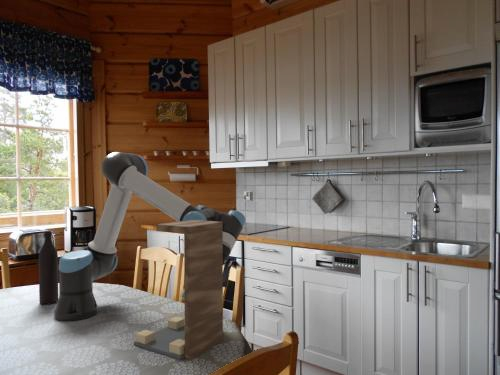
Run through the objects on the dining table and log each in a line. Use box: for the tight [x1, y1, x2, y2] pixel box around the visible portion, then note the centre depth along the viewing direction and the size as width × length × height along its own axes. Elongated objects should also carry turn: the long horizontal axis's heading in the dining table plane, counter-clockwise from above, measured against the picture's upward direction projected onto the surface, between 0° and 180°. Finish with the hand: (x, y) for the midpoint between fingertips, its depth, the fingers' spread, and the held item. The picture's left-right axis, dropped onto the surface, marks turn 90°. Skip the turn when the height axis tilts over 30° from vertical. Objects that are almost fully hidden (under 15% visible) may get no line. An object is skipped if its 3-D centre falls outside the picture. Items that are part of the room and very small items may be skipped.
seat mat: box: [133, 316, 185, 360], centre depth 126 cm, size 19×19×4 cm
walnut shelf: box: [155, 220, 224, 360], centre depth 123 cm, size 13×16×38 cm
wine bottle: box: [38, 230, 59, 305], centre depth 165 cm, size 7×7×30 cm
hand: (194, 300), depth 133 cm, fingers closed on coffee can, 10 cm apart
